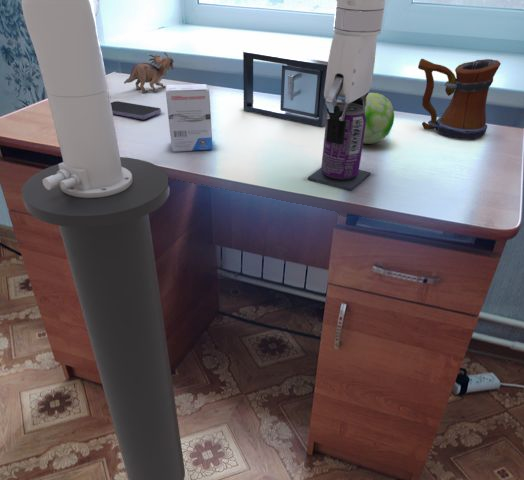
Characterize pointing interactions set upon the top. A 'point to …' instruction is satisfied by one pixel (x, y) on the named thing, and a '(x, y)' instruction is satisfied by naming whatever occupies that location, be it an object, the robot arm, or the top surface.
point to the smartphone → (133, 110)
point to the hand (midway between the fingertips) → (344, 135)
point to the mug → (461, 98)
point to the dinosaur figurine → (151, 72)
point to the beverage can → (345, 146)
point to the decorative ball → (377, 118)
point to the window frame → (289, 61)
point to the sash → (300, 90)
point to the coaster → (344, 184)
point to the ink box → (189, 117)
